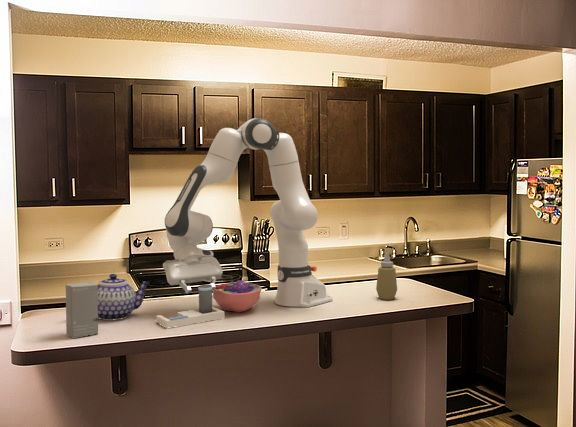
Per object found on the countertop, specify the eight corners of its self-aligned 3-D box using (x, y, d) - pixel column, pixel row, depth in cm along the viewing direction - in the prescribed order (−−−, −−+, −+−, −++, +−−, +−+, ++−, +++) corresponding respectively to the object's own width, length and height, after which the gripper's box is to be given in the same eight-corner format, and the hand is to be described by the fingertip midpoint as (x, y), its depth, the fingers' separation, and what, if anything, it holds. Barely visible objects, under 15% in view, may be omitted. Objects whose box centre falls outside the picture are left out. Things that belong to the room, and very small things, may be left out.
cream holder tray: (212, 313, 209) (212, 305, 209) (224, 318, 202) (224, 310, 202) (156, 323, 197) (156, 314, 197) (166, 328, 190) (166, 319, 190)
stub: (208, 315, 207) (208, 284, 206) (215, 318, 203) (214, 286, 202) (196, 317, 204) (195, 285, 203) (202, 320, 200) (202, 287, 199)
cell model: (250, 302, 226) (250, 272, 225) (268, 314, 208) (268, 282, 207) (207, 306, 220) (206, 275, 219) (221, 319, 202) (220, 286, 201)
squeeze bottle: (397, 301, 226) (397, 254, 225) (375, 300, 227) (376, 254, 226) (396, 296, 234) (397, 251, 233) (376, 295, 235) (376, 250, 234)
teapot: (75, 326, 194) (74, 280, 193) (74, 314, 208) (73, 272, 207) (154, 318, 203) (152, 275, 201) (148, 308, 217) (147, 267, 216)
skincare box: (72, 339, 179) (70, 287, 178) (65, 333, 185) (63, 283, 184) (100, 334, 184) (98, 284, 183) (92, 329, 190) (91, 280, 189)
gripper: (163, 255, 204) (176, 288, 197) (216, 250, 216) (230, 281, 209) (158, 266, 208) (170, 299, 201) (210, 261, 220) (224, 292, 213)
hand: (201, 290), depth 205 cm, fingers open, 8 cm apart
